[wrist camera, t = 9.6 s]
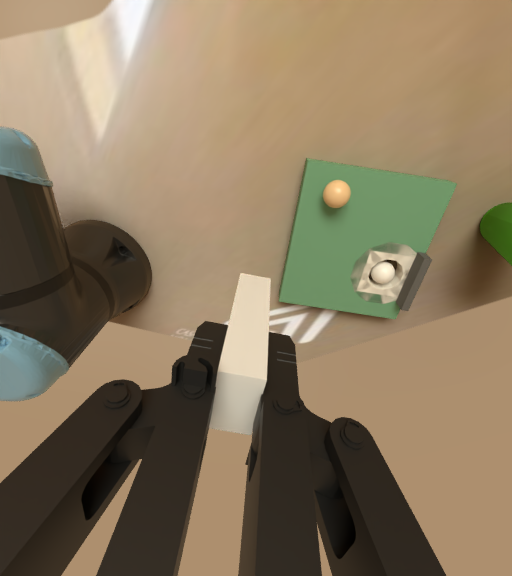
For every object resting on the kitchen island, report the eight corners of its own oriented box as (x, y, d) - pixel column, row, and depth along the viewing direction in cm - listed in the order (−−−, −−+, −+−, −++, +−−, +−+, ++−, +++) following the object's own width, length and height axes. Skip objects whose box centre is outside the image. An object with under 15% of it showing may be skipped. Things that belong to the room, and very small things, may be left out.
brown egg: (318, 202, 37) (321, 208, 35) (324, 175, 36) (328, 180, 33) (343, 206, 37) (348, 213, 35) (351, 180, 36) (357, 184, 33)
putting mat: (279, 293, 47) (278, 309, 43) (306, 158, 37) (309, 162, 33) (394, 310, 47) (405, 328, 43) (452, 181, 37) (473, 188, 33)
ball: (372, 286, 42) (394, 288, 42) (380, 266, 40) (402, 268, 41) (364, 275, 44) (384, 277, 45) (371, 256, 43) (392, 258, 43)
